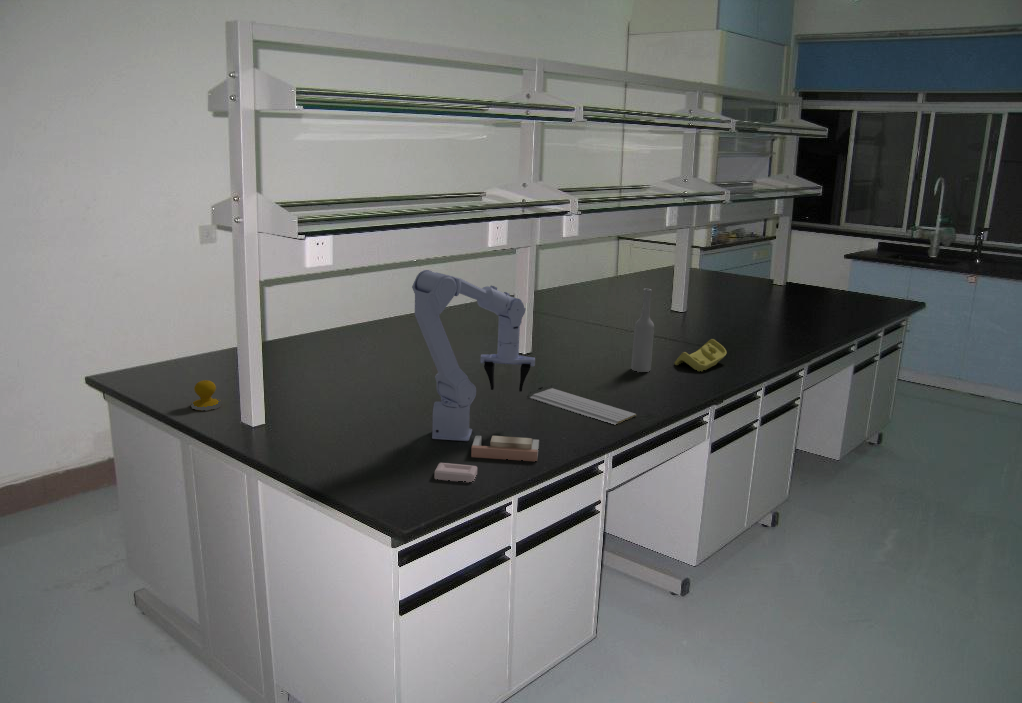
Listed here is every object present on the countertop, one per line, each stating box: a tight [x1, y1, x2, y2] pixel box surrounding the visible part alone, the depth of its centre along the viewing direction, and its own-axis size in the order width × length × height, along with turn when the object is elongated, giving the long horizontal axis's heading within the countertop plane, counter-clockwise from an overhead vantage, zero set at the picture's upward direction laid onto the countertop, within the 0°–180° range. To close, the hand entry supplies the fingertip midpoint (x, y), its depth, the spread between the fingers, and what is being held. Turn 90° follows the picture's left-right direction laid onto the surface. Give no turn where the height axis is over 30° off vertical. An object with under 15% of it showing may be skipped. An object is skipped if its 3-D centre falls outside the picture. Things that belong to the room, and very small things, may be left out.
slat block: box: [490, 435, 533, 449], centre depth 197 cm, size 10×4×4 cm, turn 85°
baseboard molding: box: [526, 385, 637, 426], centre depth 232 cm, size 31×3×12 cm
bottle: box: [630, 288, 655, 373], centre depth 269 cm, size 7×7×28 cm
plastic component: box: [673, 338, 727, 372], centre depth 282 cm, size 20×7×10 cm
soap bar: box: [433, 462, 478, 483], centre depth 183 cm, size 5×9×2 cm, turn 82°
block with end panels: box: [470, 435, 540, 462], centre depth 198 cm, size 16×8×2 cm, turn 85°
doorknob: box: [192, 379, 219, 407], centre depth 221 cm, size 8×8×8 cm
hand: (506, 389), depth 216 cm, fingers open, 7 cm apart
